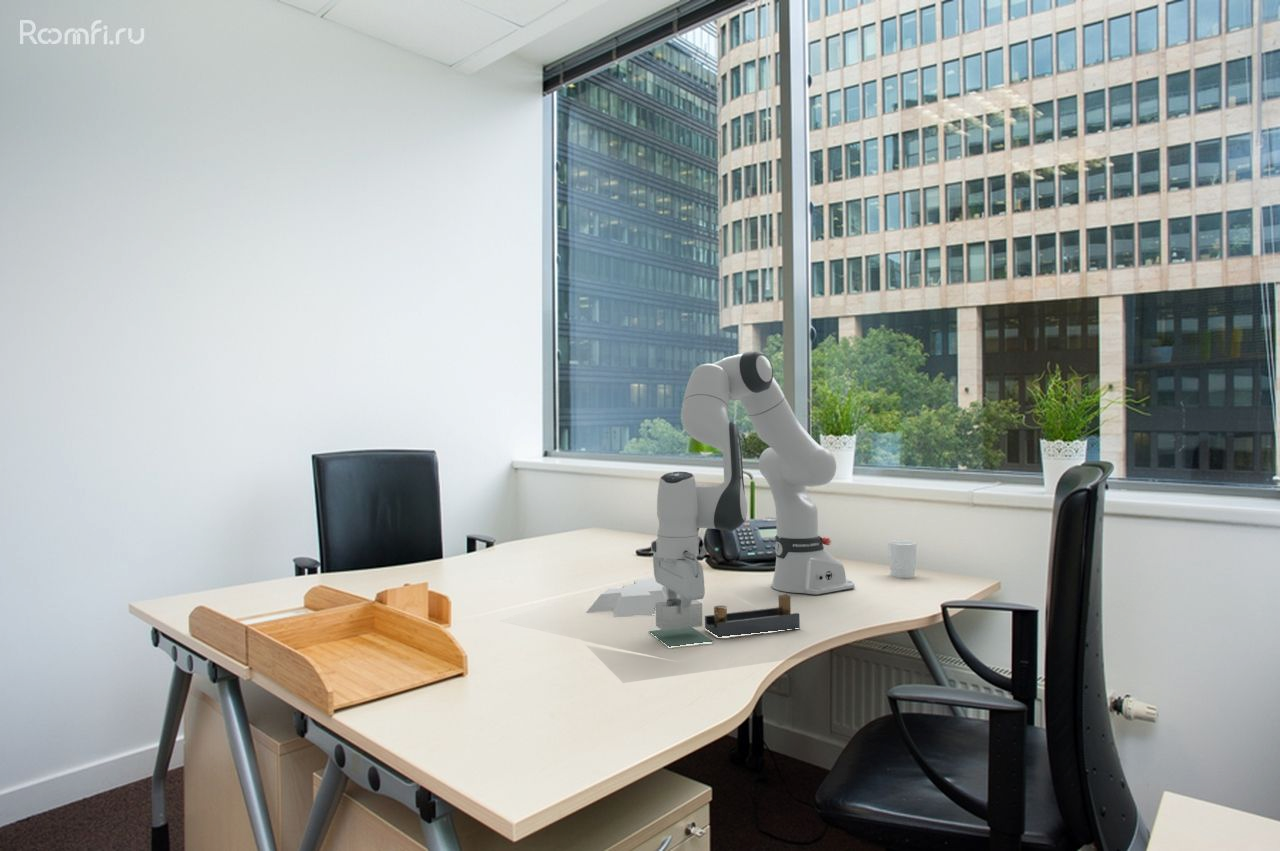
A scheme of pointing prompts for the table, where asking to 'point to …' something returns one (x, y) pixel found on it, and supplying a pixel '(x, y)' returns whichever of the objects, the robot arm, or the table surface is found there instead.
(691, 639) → the rubber mat
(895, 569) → the white cup
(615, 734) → the table surface
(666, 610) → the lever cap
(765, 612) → the dark grey channel holder
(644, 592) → the white jagged cross block
